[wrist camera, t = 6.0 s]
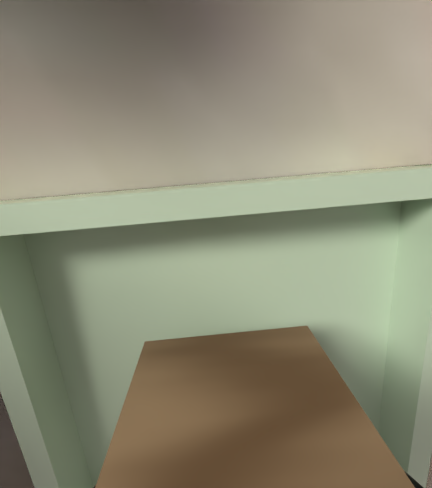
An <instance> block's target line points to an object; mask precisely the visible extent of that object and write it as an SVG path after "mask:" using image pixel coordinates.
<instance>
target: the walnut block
mask: <svg viewBox="0 0 432 488" xmlns="http://www.w3.org/2000/svg"><path fill="white" fill-rule="evenodd" d="M95 488H415V487H414V485H413V484H412V482H411V481H410V479H409V478H408V476H407V475H406V473H405V472H404V470H403V469H402V467H401V466H400V464H399V463H398V461H397V460H396V458H395V457H394V455H393V454H392V452H391V451H390V449H389V448H388V446H387V445H386V443H385V442H384V440H383V439H382V437H381V436H380V434H379V433H378V431H377V430H376V428H375V427H374V425H373V424H372V422H371V421H370V419H369V418H368V416H367V415H366V413H365V412H364V410H363V409H362V407H361V406H360V404H359V403H358V401H357V400H356V398H355V397H354V395H353V394H352V392H351V391H350V389H349V388H348V386H347V385H346V383H345V382H344V380H343V379H342V377H341V376H340V374H339V373H338V371H337V370H336V368H335V367H334V365H333V364H332V362H331V361H330V359H329V358H328V356H327V355H326V353H325V352H324V350H323V349H322V347H321V346H320V344H319V342H318V341H317V339H316V338H315V336H314V335H313V333H312V332H311V330H310V329H309V327H308V326H297V327H287V328H277V329H267V330H257V331H246V332H236V333H226V334H216V335H205V336H195V337H185V338H175V339H165V340H154V341H145V342H144V345H143V348H142V351H141V354H140V357H139V360H138V363H137V366H136V369H135V372H134V375H133V378H132V380H131V383H130V386H129V389H128V392H127V395H126V398H125V401H124V404H123V407H122V410H121V413H120V416H119V419H118V422H117V425H116V427H115V430H114V433H113V436H112V439H111V442H110V445H109V448H108V451H107V454H106V457H105V460H104V463H103V466H102V469H101V472H100V474H99V477H98V480H97V483H96V486H95Z"/></svg>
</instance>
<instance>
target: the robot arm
mask: <svg viewBox="0 0 432 488" xmlns="http://www.w3.org/2000/svg"><path fill="white" fill-rule="evenodd" d="M404 472H405V471H404ZM405 473H406V475H407V476H408V478H409V479H410V481H411V482H412V484H413V485H414V487H415V488H424V487H423V486H421V485H420V484H419V483H418V482H417V481H416V480H415V479H413V478H412V477H411V476H410V475H409V474H408V473H407V472H405ZM95 486H96V485H95ZM95 486H94V488H95Z"/></svg>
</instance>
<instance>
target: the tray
mask: <svg viewBox="0 0 432 488" xmlns="http://www.w3.org/2000/svg"><path fill="white" fill-rule="evenodd" d="M297 326H308V327H309V329H310V330H311V332H312V333H313V335H314V336H315V338H316V339H317V341H318V342H319V344H320V346H321V347H322V349H323V350H324V352H325V353H326V355H327V356H328V358H329V359H330V361H331V362H332V364H333V365H334V367H335V368H336V370H337V371H338V373H339V374H340V376H341V377H342V379H343V380H344V382H345V383H346V385H347V386H348V388H349V389H350V391H351V392H352V394H353V395H354V397H355V398H356V400H357V401H358V403H359V404H360V406H361V407H362V409H363V410H364V412H365V413H366V415H367V416H368V418H369V419H370V421H371V422H372V424H373V425H374V427H375V428H376V430H377V431H378V433H379V434H380V436H381V437H382V439H383V440H384V442H385V443H386V445H387V446H388V448H389V449H390V451H391V452H392V454H393V455H394V457H395V458H396V460H397V461H398V463H399V464H400V466H401V467H402V469H403V470H404V471H405V472H407V473H408V474H409V475H410V476H411V477H412V478H413V479H415V480H416V481H417V482H418V483H419V484H420V485H421V486H423V487H424V488H426V485H427V479H428V473H429V467H430V462H431V456H432V164H430V165H416V166H405V167H393V168H381V169H369V170H358V171H346V172H334V173H322V174H311V175H299V176H287V177H276V178H264V179H252V180H240V181H229V182H217V183H205V184H193V185H182V186H170V187H158V188H146V189H135V190H123V191H111V192H100V193H88V194H76V195H64V196H53V197H41V198H29V199H17V200H6V201H0V392H1V395H2V398H3V401H4V404H5V406H6V409H7V412H8V415H9V417H10V420H11V423H12V426H13V429H14V431H15V434H16V437H17V440H18V443H19V445H20V448H21V451H22V454H23V457H24V459H25V462H26V465H27V468H28V471H29V473H30V476H31V479H32V482H33V485H34V487H35V488H94V486H95V485H96V483H97V480H98V477H99V474H100V472H101V469H102V466H103V463H104V460H105V457H106V454H107V451H108V448H109V445H110V442H111V439H112V436H113V433H114V430H115V427H116V425H117V422H118V419H119V416H120V413H121V410H122V407H123V404H124V401H125V398H126V395H127V392H128V389H129V386H130V383H131V380H132V378H133V375H134V372H135V369H136V366H137V363H138V360H139V357H140V354H141V351H142V348H143V345H144V342H145V341H154V340H165V339H175V338H185V337H195V336H205V335H216V334H226V333H236V332H246V331H257V330H267V329H277V328H287V327H297Z"/></svg>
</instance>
